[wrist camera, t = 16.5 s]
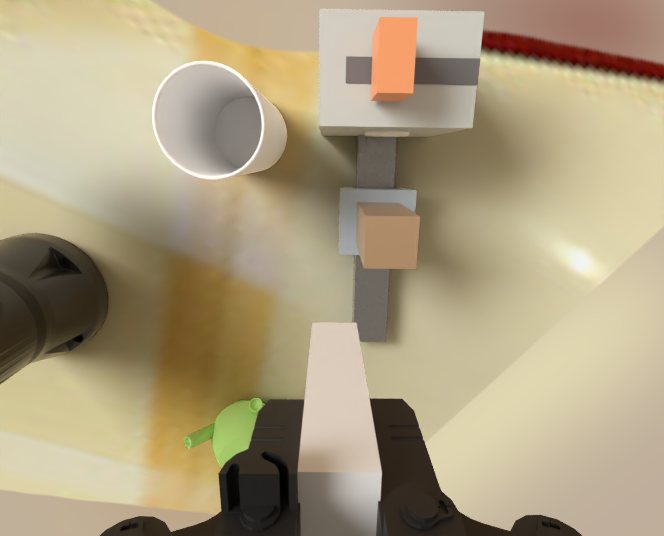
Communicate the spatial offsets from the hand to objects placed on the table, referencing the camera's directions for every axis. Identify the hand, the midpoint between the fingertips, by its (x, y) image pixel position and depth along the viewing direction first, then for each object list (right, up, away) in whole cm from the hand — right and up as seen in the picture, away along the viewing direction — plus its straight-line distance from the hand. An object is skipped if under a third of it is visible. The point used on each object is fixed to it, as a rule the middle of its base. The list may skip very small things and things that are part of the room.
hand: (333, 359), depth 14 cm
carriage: (+5, +9, +32) cm, 34 cm away
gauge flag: (+4, +18, +16) cm, 25 cm away
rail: (+5, +6, +34) cm, 35 cm away
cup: (-9, +18, +31) cm, 37 cm away
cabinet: (+5, +22, +30) cm, 37 cm away
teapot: (-11, -17, +41) cm, 45 cm away
